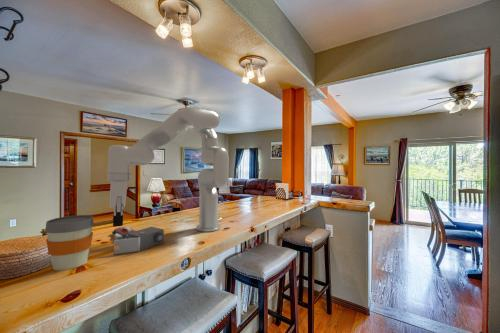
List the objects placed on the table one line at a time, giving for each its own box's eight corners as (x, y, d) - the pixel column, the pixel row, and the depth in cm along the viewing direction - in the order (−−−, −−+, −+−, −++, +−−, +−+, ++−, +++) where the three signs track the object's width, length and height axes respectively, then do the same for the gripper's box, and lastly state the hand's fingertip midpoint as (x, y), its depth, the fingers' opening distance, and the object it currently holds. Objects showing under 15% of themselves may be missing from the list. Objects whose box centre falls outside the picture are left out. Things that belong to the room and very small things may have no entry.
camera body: (151, 238, 98) (151, 225, 98) (166, 242, 94) (166, 228, 93) (127, 247, 88) (127, 232, 88) (142, 251, 84) (142, 235, 84)
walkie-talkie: (107, 236, 102) (125, 246, 90) (107, 226, 102) (125, 235, 90) (127, 231, 109) (146, 240, 97) (127, 223, 109) (146, 231, 97)
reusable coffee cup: (84, 270, 69) (84, 222, 69) (35, 275, 65) (35, 225, 65) (99, 254, 81) (99, 214, 81) (58, 258, 77) (58, 216, 77)
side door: (114, 253, 81) (114, 239, 81) (140, 250, 85) (140, 237, 85) (113, 255, 80) (113, 240, 80) (139, 251, 83) (139, 238, 83)
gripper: (108, 176, 88) (106, 222, 87) (107, 178, 75) (105, 232, 75) (129, 176, 92) (128, 220, 91) (131, 178, 79) (130, 229, 79)
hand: (117, 225), depth 83 cm, fingers closed
